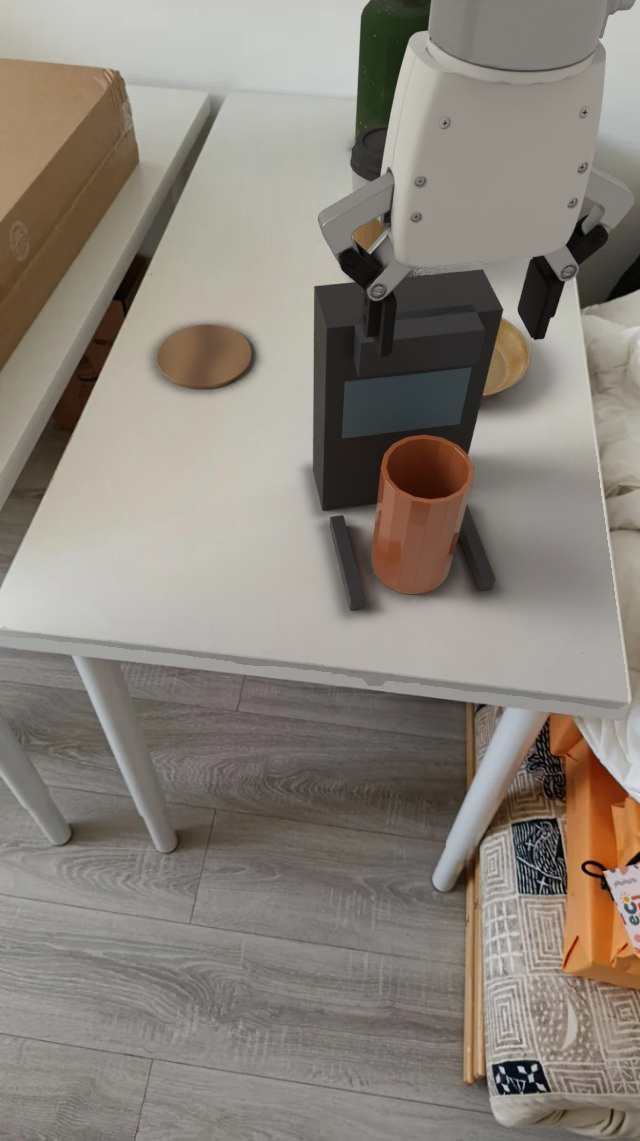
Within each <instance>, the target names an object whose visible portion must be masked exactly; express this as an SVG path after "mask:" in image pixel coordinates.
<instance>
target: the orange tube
mask: <svg viewBox="0 0 640 1141" xmlns="http://www.w3.org/2000/svg"><path fill="white" fill-rule="evenodd" d="M474 473H475V468H474V465H473V463H472V460H471V457H470V455H469V454H468V455H467V454H466V453H465V452H464V451H463V450H462V449H461V448H460V447H459V446H458V445H457V444H455V443H453V442H451V441H449V440H446V439H444V438H442V437H436V436H430V435H418V436H410V437H406V438H404V439H402V440H400V441H398V442H396V443H394V444H393V445H392V446H391V447H390V448H389V449H388V450H387V452H386V453H385V454H384V457H383V461H382V465H381V473H380V482H379V491H378V500H377V503H376V510H375V517H374V518H375V519H374V527H373V536H372V545H371V555H370V560H371V567H372V570H373V573H374V575H375V577H377V579H378V580H379V581H380V582H381V584H383V585H384V586H385V587H387V588H389V589H390V590H393V591H394V592H397V593H401V594H406V595H421V594H425V593H429V592H431V591H433V590H435V589H437V588H438V587H439V586H440V585H442V584H443V583H444V581H445V580H446V579H447V577H448V574H449V572H450V570H451V567H452V562H453V558H454V555H455V552H456V547H457V543H458V539H459V532H460V528H461V524H462V520H463V516H464V512H465V509H466V505H468V501H469V498H470V497H469V496H470V493H471V490H472V489H471V488H472V486H473V482H474Z"/></svg>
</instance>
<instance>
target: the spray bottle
mask: <svg viewBox="0 0 640 1141" xmlns="http://www.w3.org/2000/svg"><path fill="white" fill-rule="evenodd" d="M430 8H431V0H369V1H368V2H367V3H366V5H365V6H364V7H363V9H362V12H361V15H360V26H359V45H358V47H359V48H358V67H357V69H358V70H357V87H356V88H357V89H356V110H355V111H356V112H355V130H354V131H355V132H354V144H355V143H356V139H357V136H358V135H359V133H361V132H362V131H363V130H365V129H367V128H369V127H373V126H377V125H386V124H389V120H390V115H391V110H392V105H393V100H394V95H395V90H396V86H397V82H398V77H399V74H400V70H401V66H402V62H403V59H404V55H405V52H406V49H407V45H408V42H409V39H410V37H411V36H412V35H413V34H415V33H417V32H422V31H428V26H429V17H430Z"/></svg>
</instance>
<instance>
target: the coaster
mask: <svg viewBox="0 0 640 1141" xmlns="http://www.w3.org/2000/svg"><path fill="white" fill-rule="evenodd" d="M252 357H253V354H252V348H251V344H250V343H249V341H248V340H247V338H246V337H245V336H244V335H242V334H241V333H240V332H238V331H236V330H234V329H232V328H230V327H227V326H223V325H218V324H198V325H192V326H188V327H184V328H182V329H179V330H177V331H176V332H175V331H174V332H173V333H172V334H170V335H169V336H168V337H167V338H166V339H164V340H163V342H162V343H161V345H160V346H159V348H158V351H157V354H156V359H157V360H156V361H157V366H158V369H159V370H160V372H161V374H162V375H163V376H164V377H165V378H166V379H168V380H169V381H170V382H172V383H174V384H175V385H178V386H181V387H184V388H189V389H195V390H206V389H214V388H218V387H222V386H225V385H228V384H231V383H232V382H234V381H236V380H238V379H239V378H241V377H242V376H243V375H244V374H245V373H246V372H247V370H248V369H249V368H250V365H251V363H252Z"/></svg>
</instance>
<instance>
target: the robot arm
mask: <svg viewBox="0 0 640 1141" xmlns="http://www.w3.org/2000/svg"><path fill="white" fill-rule="evenodd" d="M636 1H637V0H431V8H430V17H429V26H428V31H422V32H417V33H415V34H413V35H412V36H411V37H410V39H409V42H408V45H407V49H406V52H405V55H404V59H403V62H402V66H401V70H400V74H399V77H398V82H397V86H396V90H395V95H394V100H393V105H392V110H391V115H390V120H389V126H388V131H387V137H386V143H385V149H384V155H383V162H382V169H381V176H380V177H379V178H377V179H375V180H373V181H372V182H370V183H368V184H367V185H365V186H363V187H361V188H360V189H358V190H356V191H355V192H353V191H352V192H351V193H349V194H348V195H347V196H344V197H343V198H341V199H340V200H338V201H336V202H334V203H333V204H331V205H329V206H327V207H325V208H324V209H322V210H321V211H320V212H319V214H318V215H317V222H318V225H319V228H320V231H321V235H322V237H323V239H324V240H325V242H326V244H327V246H328V247H329V250H330V251H331V253H332V255H333V257H334V258H335V260H336V261H337V263H338V265H339V267H340V270H341V272H342V273H344V274H345V275H346V276H347V277H349V278H350V279H351V280H352V281H353V282H356V283H357V284H358V285H359V286H361V287H362V288H363V289H364V291H363V306H362V328H363V332H364V335H365V337H366V338H369V337H372V338H373V341H374V343H375V346H376V349H377V352H378V355H379V357H388V356H389V354H391V353H392V345H393V336H394V327H395V318H396V309H397V301H396V298H395V295H394V293H393V289H394V288H395V287H396V286H397V285H398V284H399V283H400V282H401V281H402V280H403V278H404V277H407V276H408V275H409V273H410V272H411V271H412V270H414V269H415V268H419V269H422V268H423V269H424V268H425V269H426V268H427V269H428V268H440V267H449V266H461V265H471V264H480V263H489V262H490V263H492V262H500V261H509V260H510V261H511V260H522V259H529V258H530V259H529V262H528V265H527V270H526V273H525V276H524V281H523V285H522V288H521V293H520V296H519V301H518V304H517V313H518V315H519V318H520V320H521V321H522V323H523V325H524V328H525V329H526V331H527V333H528V335H529V336H530V338H531V339H533V340H535V341H538V340H544V339H545V338H546V334H547V331H548V328H549V325H550V322H551V319H553V318H554V317H555V315H556V312H557V310H558V308H559V304H560V300H561V296H562V294H563V290H564V287H565V284H566V282H569V281H571V280H573V279H574V278H576V277H577V275H578V274H579V271H580V267H579V266H580V265H581V264H583V263H584V262H585V261H587V259H589V258H591V256H592V255H594V254H595V253H596V252H597V251H598V250H600V249H601V248H603V247H604V245H605V244H606V243H607V242H608V240H609V234H610V232H611V231H612V230H615V229H616V228H617V226H618V225H619V224H620V223H621V221H622V220H623V219H624V218H625V217H626V215H627V214H628V213H629V212H630V211H631V209H632V208H633V207H634V205H635V204H636V196H635V195H634V193H633V192H632V191H631V189H630V188H629V187H628V186H627V184H625V183H624V182H623V181H621V180H619V179H617V178H615V177H614V176H612V175H610V174H608V173H607V172H605V171H603V170H601V169H599V168H598V167H595V166H594V165H593V161H594V157H595V151H596V147H597V141H598V136H599V129H600V123H601V122H600V121H601V116H602V107H603V100H604V91H605V90H604V89H605V80H606V78H605V77H606V63H607V61H606V60H607V51H606V48H605V46H604V45H603V43H602V42H601V39H603V37H604V34H605V31H606V30H605V29H606V27H607V23H608V19H609V17H610V15H615V14H616V13H617V12H618V11H629V10H631V9H632V8H633V7H634V5H635V3H636ZM584 199H586V200H587V201H590V202H592V203H594V205H593V206H592V208H591V209H590V210H589V211H590V213H589V214H587V215H583V217H581V218H580V219H579V216H580V214H581V211H582V206H583V203H584ZM376 218H379V222H380V225H381V227H385V226H386V227H388V228H387V229H386V230H385V231H384V232H383V233H382V234H381V235H380V237H379V238H378V239H377V240H376V241H375V242H374V243H373V244H372V246H371V247H370V248H369V249H368V250H367V251H366V250H365V249H364V248H362V247H361V246H360V245H359V244H358V243H357V242H356V241H355V240H354V239H353V233H354V232H355V231H356V230H357V229H359V228H360V227H362V226H364V225H366V224H367V223H369V222H371V221H373V220H374V219H376Z"/></svg>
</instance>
